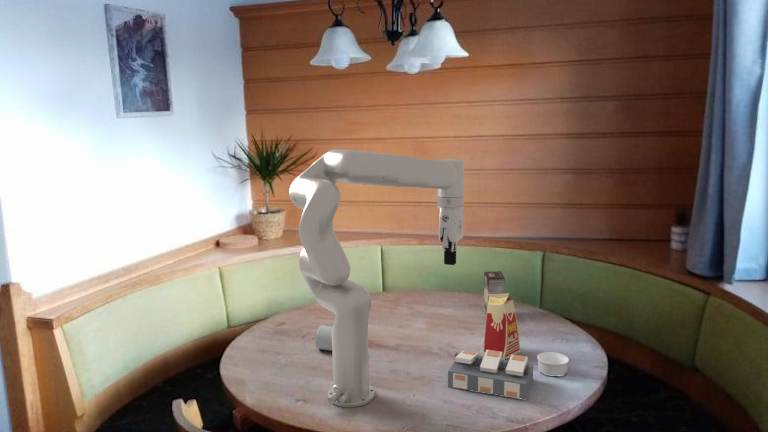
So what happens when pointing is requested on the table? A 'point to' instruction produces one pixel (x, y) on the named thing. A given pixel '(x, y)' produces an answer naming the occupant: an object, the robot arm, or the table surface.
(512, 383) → the switch unit
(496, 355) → the block
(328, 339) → the ceramic mug
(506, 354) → the milk carton
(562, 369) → the ramekin
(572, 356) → the table surface
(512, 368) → the rocker
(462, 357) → the rocker
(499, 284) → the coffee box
